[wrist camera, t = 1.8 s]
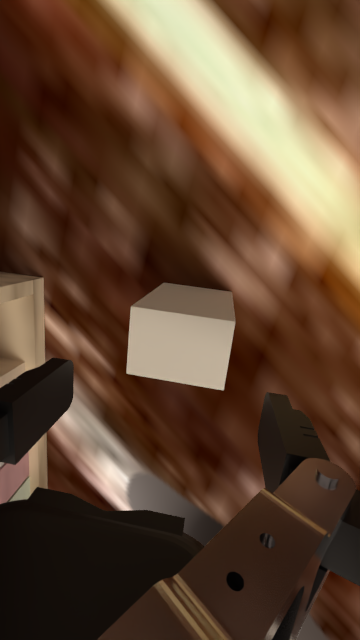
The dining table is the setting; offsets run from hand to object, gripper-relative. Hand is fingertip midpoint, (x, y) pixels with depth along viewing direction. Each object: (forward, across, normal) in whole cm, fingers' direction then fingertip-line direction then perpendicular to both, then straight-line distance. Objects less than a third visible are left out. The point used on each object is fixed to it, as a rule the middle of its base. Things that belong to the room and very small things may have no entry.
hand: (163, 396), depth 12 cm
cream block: (+13, 0, -1) cm, 13 cm away
